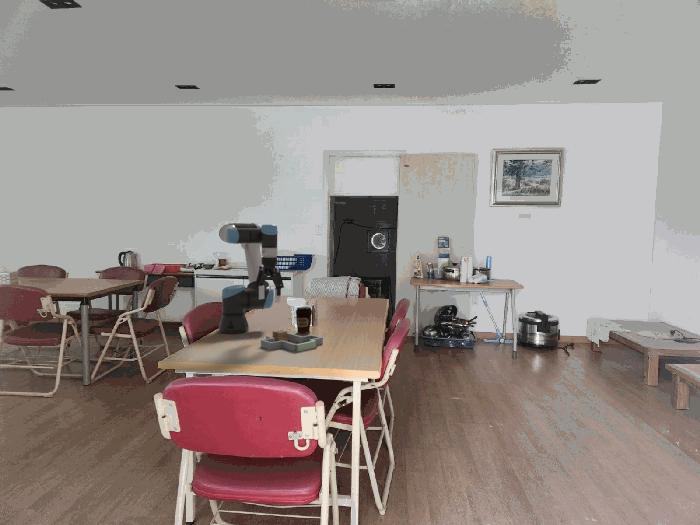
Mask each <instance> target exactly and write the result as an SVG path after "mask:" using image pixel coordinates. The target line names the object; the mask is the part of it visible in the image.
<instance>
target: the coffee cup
mask: <svg viewBox="0 0 700 525" xmlns="http://www.w3.org/2000/svg"><path fill="white" fill-rule="evenodd" d="M312 314H313V309H312V307H311V306H310V307H309V306H301V307H297V308H296V310H295V316H296V317H295V318H296V329H297V333H298V334H302V335H303V334H304V335H305V334H310V333H311V331H310V329H311V325H312Z"/></svg>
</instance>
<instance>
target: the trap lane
mask: <svg viewBox="0 0 700 525" xmlns="http://www.w3.org/2000/svg"><path fill="white" fill-rule="evenodd" d="M288 340H289V341H288ZM291 341H292V342H291ZM294 342H295V343H294ZM323 344H324V338H323V337H322V336H318V335H314V334H307V335H303V336H301V335H297V334H294V333H289V332H287V341H283V340H282V341H277V342H275V338H273V336H269V335H266V336H265V339H260V347H261V348H264V349H267V350H270V351H273V350H277V349H286V350H288V351H291V352H295V353H297V352H302V351H306V350H311V349H315V348H318V346H319V345H320V346H321V345H323Z"/></svg>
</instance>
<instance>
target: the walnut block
mask: <svg viewBox="0 0 700 525" xmlns="http://www.w3.org/2000/svg"><path fill="white" fill-rule="evenodd" d="M287 333H288V331H287V330H284V329H278V330H273V331H272V337H273V338H275V342H277V341H282V340H283V341H287V342H288V340H287Z"/></svg>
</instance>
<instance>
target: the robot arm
mask: <svg viewBox="0 0 700 525" xmlns="http://www.w3.org/2000/svg"><path fill="white" fill-rule="evenodd" d="M218 236H219V239H221V241H222V242H225V243H228V244H233V245H235V244H236V245H237V244H238V245H239V244H240V247H241V249H243V250H244V255H245V264H246V268H247V269H246V270H247V276H248V282H249V283H248V284H247V286H246V285H244V284H234V285H229V286H225V287H224V288H223V289H222V291H221V319H220V321H219V325H218V332H219V333H221V334H241V333H242V334H243V333H247V332H248V331H249V329H250V327H249V322H248V320H247V316H246V311H253V310H267V309H270V308H272V306H273V303H274V304H275V303H276V304H278V303H281V296H282V289H283V288H285V285H284V281H283V278H282V274H281V268H280V267H276V266H277V265H278V257H277V256H278V225H277V224H268V223H267V224H259V223H254V222H252V223H247V222H246V223H245V222H244V223H243V222H242V223H241V222H239V223H238V222H236V223H235V222H233V223H227V224H224V225H223V226H221V227H220V228H219V231H218ZM268 277H269V278H271V280H272V282H273V284H274V287H275V288H274V287H273V286H270V283H269V281H267V278H268Z"/></svg>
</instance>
